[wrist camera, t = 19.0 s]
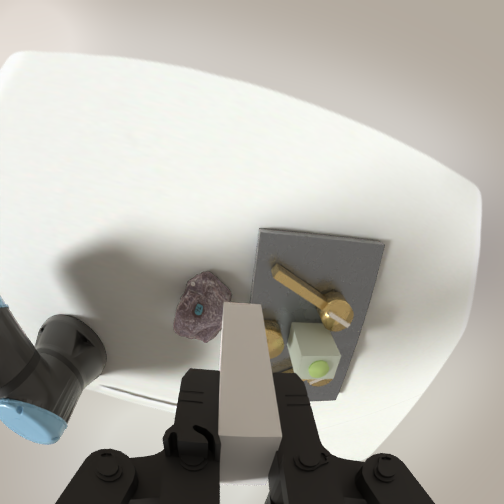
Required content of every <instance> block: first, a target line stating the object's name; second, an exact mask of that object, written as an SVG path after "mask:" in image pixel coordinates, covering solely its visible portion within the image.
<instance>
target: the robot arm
mask: <svg viewBox="0 0 504 504" xmlns="http://www.w3.org/2000/svg"><path fill="white" fill-rule="evenodd" d="M105 364H106V352H105V349H104V346H103V344H102V342H101V340H100V339H99V337H98V336H97V335H96V334H95V332H94V331H93V330H92V329H91V328H89V327H88V326H87V325H86V324H84V323H83V322H81V321H79V320H78V319H76V318H73V317H70V316H66V315H55V316H52V317H50V318H49V319H47V320H46V322H45V323H44V324H43V325H42V326H41V328H40V330H39V332H38V336H37V340H36V344H35V347H34V346H33V344H32V343H31V341H30V340H29V338H28V337H27V336H26V334H25V333H24V331H23V330H22V328H21V327H20V325H19V324H18V322H17V321H16V319H15V318H14V316H13V315H12V313H11V311H10V310H9V306H8V305H7V304H5V302H4V301H3V299H2V297H1V296H0V420H1V421H2V422H3V423H4V424H5V425H6V426H7V427H8V428H10V429H11V430H12V431H14V432H15V433H17V434H18V435H20V436H22V437H24V438H25V439H28V440H30V441H32V442H35V443H39V444H47V445H49V444H54V443H56V442H57V441H58V440H59V439H60V437H61V435H62V434H63V432H64V430H65V429H66V428H67V423H68V421H69V419H70V417H71V415H72V412H73V410H74V408H75V406H76V404H77V401H78V399H79V397H80V395H81V393H82V391H83V389H84V388H85V387H86V386H87V385H89V384H90V383H91V382H92V381H93V380H95V379H96V378H98V377H99V375H100V374H101V373H102V371H103V368H104V366H105ZM163 444H164V450H163V451H161V452H159V453H157V454H155V455H151V456H145V457H135V458H129V457H128V456H127V455H125V454H124V453H122V452H121V451H117V450H113V449H101V450H98V451H95V452H93V453H91V454H90V455H89V456H88V457H87V458H86V459H85V461H84V462H83V464H82V465H81V467H80V468H79V470H78V471H77V472H76V474H75V475H74V477H73V478H72V480H71V481H70V483H69V484H68V486H67V487H66V489H65V490H64V491H63V493H62V494H61V496H60V498H59V499H58V500H57V502H56V503H55V504H220V484H226V485H266V484H267V481H268V480H269V490H270V491H269V494H268V497H267V499H266V501H265V504H435V503H434V502H433V501H432V499H431V498H430V497H429V495H428V494H427V493H426V491H425V490H424V489H423V487H422V486H421V485H420V484H419V482H418V481H417V480H416V478H415V477H414V476H413V474H412V473H411V472H410V471H409V469H408V468H407V467H406V465H405V464H404V463H403V462H402V461H401V460H400V459H399V458H397V457H396V456H393V455H391V454H385V453H380V454H375V455H372V456H371V457H369V458H368V459H367V460H366V461H365V462H361V461H353V460H347V459H342V458H338V457H336V456H334V455H332V454H330V452H329V451H328V450H327V449H325V448H324V447H323V446H322V444H321V441H320V439H319V435H318V431H317V427H316V423H315V420H314V416H313V412H312V409H311V406H310V401H309V397H308V394H307V390H306V386H305V383H304V382H303V381H302V379H301V378H300V377H299V376H298V375H297V374H296V373H272V369H271V363H270V357H269V351H268V344H267V338H266V332H265V326H264V319H263V313H262V307H261V304H248V303H234V302H224V307H223V319H222V333H221V346H220V363H219V371H216V370H204V369H193V368H190V369H189V370H188V371H187V373H186V374H185V375H184V376H183V377H182V381H181V386H180V392H179V398H178V403H177V409H176V415H175V422H174V425H172V426H171V427H170V428H169V429H167V430H166V432H165V434H164V436H163Z"/></svg>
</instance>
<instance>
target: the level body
mask: <svg viewBox="0 0 504 504" xmlns="http://www.w3.org/2000/svg"><path fill="white" fill-rule="evenodd" d="M287 346H288V350H289V354H290V358H291V362H292V366H293V370H294V373H296V374H297V375H298V376H299V377H300V378H301V379H333V378H334V375H335V372H336V370H337V367H338V364H339V361H340V358H341V355H340V352H339V350H338V348H337V346H336V344H335V341H334V339H333V337H332V335H331V333H330V331H329V330H327V329H326V328H325V327H324V325H323V323H299V322H292V323H291V328H290V333H289V338H288V343H287Z"/></svg>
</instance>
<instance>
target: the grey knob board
mask: <svg viewBox="0 0 504 504" xmlns="http://www.w3.org/2000/svg"><path fill="white" fill-rule="evenodd" d="M384 246H385V245H384V244H383V243H382V242H380V241H377V240H368V239H359V238H350V237H341V236H331V235H322V234H312V233H303V232H293V231H282V230H272V229H261V228H259V234H258V242H257V251H256V259H255V267H254V275H253V283H252V291H251V300H250V304H261V307H262V313H263V319H264V326H265V332H266V338H267V344H268V351H269V357H270V363H271V369H272V373H282V372H284V371H287V370H290V369H292V368H293V366H292V362H291V358H290V354H289V350H288V346H287V343H288V338H289V333H290V328H291V323H292V322H299V323H322V321H321V318H320V316H319V314H318V312H317V306H315V305H314V304H312V303H311V302H309V301H307V300H306V299H304V298H303V297H301V296H300V295H298V294H297V293H295V292H294V291H292V290H291V289H289V288H288V287H286V286H285V285H283V284H282V283H280V282H279V281H277V280H275V279H274V278H273V275H272V272H271V270H272V268H273V267H274V266H275V265H276V263H278V264H279V265H281V266H282V267H283V268H285V269H286V270H288V271H289V272H291V273H292V274H294V275H295V276H297V277H298V278H300V279H301V280H303V281H304V282H305V283H307V284H308V285H310V286H311V287H313V288H314V289H316V290H317V291H319V292H320V293H322V294H323V295H325V294H326V293H329V292H339V293H341V294H342V295H343V296H344V297H345V299H346V300H347V302H348V304H349V305H350V307H351V308H352V310H353V313H354V317H353V320H352V322H351V324H350V326H349V327H348V328H345V329H343V330H341V331H337V332H333V331H330V333H331V335H332V337H333V339H334V341H335V344H336V346H337V348H338V350H339V352H340V355H341V358H340V361H339V364H338V367H337V370H336V372H335V376H334V378H333V380H332V381H331V382H329V383H328V384H326V385H324V386H319V387H316V386H312V385H310V384H309V383H308V382H307V380H305V381H303V382H304V383H305V386H306V390H307V394H308V397H309V401H330V400H336V398H337V396H338V393H339V391H340V388H341V385H342V383H343V380H344V377H345V375H346V372H347V369H348V367H349V364H350V361H351V358H352V355H353V352H354V350H355V347H356V344H357V341H358V338H359V335H360V332H361V328H362V325H363V322H364V319H365V316H366V312H367V309H368V306H369V302H370V299H371V295H372V292H373V288H374V285H375V281H376V277H377V274H378V270H379V266H380V262H381V258H382V254H383V250H384Z"/></svg>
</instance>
